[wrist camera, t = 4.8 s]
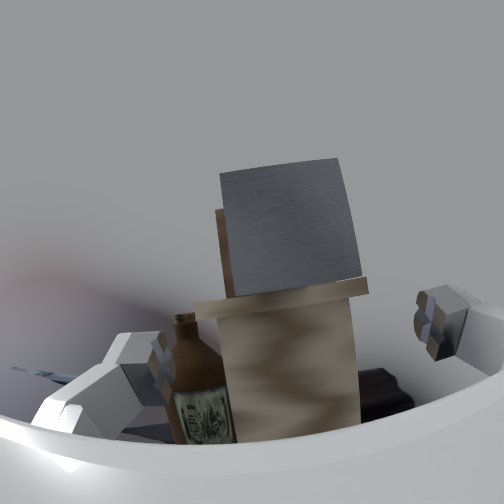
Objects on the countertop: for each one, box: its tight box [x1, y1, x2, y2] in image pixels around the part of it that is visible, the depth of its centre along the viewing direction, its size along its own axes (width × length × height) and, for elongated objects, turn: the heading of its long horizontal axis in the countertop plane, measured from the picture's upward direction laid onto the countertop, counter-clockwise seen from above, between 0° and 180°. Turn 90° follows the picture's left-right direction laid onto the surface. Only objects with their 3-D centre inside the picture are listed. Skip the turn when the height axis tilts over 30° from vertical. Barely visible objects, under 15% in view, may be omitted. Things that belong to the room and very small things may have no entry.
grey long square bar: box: [220, 158, 362, 296], centre depth 19 cm, size 3×24×3 cm, turn 177°
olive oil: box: [165, 312, 238, 445], centre depth 40 cm, size 11×11×25 cm
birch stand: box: [194, 209, 369, 443], centre depth 22 cm, size 10×18×31 cm, turn 177°
